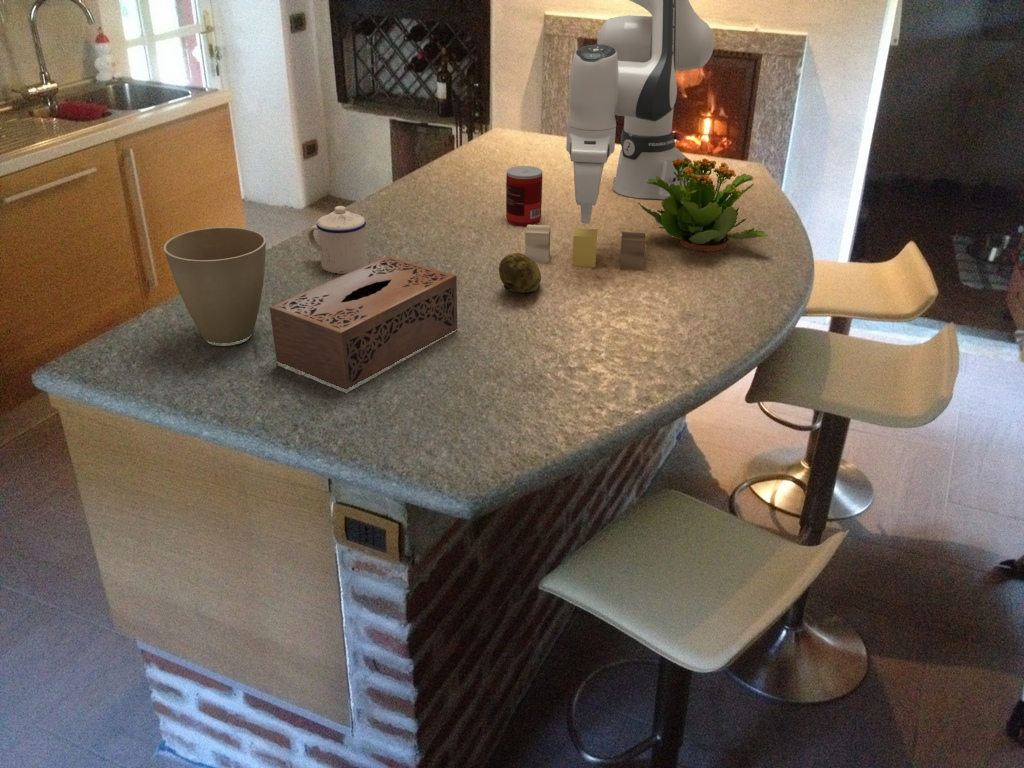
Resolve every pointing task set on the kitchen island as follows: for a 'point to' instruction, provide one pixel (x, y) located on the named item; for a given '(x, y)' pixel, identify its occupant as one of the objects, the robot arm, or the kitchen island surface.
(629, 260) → the walnut block
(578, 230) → the mustard block
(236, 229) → the plant pot
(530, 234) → the birch block
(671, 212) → the potted flower
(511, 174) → the canned food
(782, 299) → the kitchen island surface
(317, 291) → the tissue box cover
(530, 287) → the potato
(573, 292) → the kitchen island surface
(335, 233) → the teacup with lid
